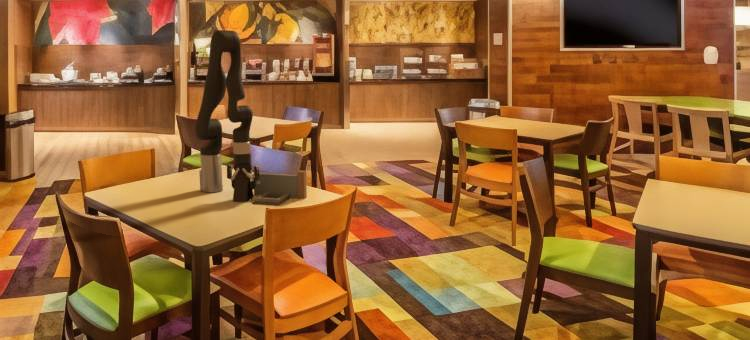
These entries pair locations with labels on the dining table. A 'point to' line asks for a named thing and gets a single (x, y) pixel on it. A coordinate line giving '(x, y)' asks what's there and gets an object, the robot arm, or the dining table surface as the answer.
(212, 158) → the robot arm
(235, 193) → the phone stand
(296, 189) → the dark grey panel
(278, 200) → the stopper pocket
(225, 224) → the dining table surface
